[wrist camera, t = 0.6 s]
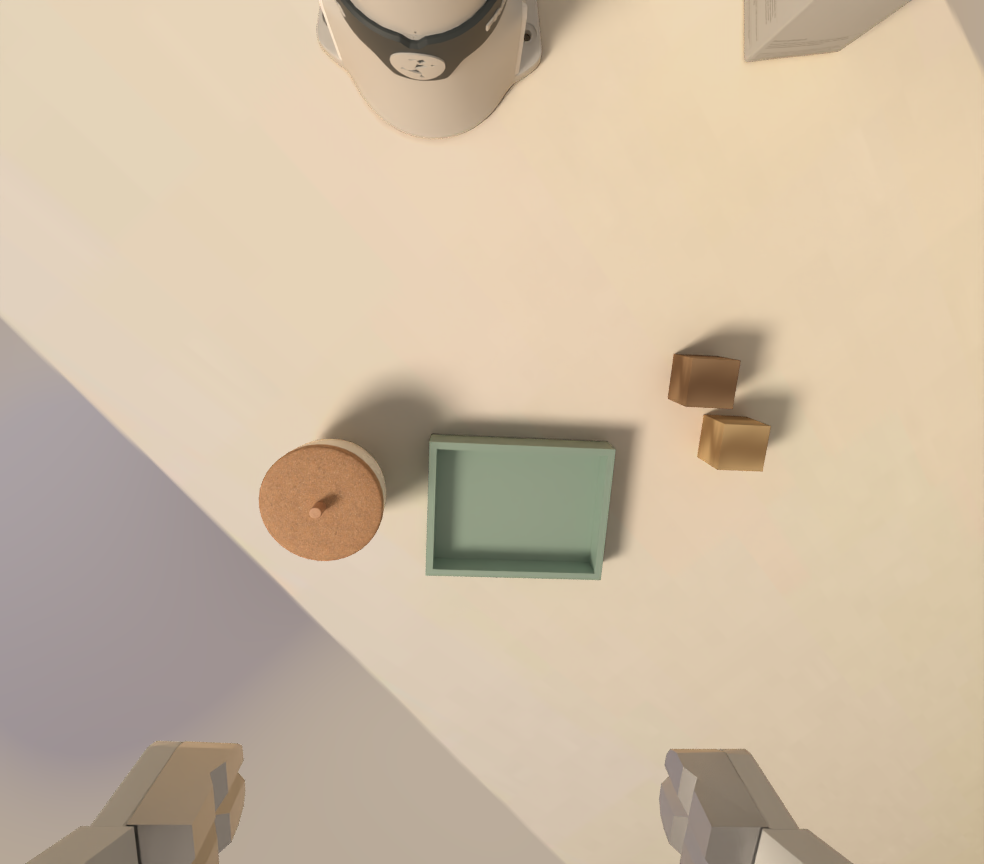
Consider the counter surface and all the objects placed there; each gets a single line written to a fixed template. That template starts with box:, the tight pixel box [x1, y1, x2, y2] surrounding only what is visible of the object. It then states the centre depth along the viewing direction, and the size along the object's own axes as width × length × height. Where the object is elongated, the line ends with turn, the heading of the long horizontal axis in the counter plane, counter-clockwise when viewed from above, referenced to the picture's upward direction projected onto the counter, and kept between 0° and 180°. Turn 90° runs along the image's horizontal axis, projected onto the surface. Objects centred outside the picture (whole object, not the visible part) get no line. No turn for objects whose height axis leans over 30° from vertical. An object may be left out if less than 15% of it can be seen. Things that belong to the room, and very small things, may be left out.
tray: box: [426, 434, 616, 580], centre depth 52 cm, size 14×18×3 cm
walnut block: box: [668, 354, 740, 409], centre depth 50 cm, size 4×4×4 cm
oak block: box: [697, 415, 771, 471], centre depth 51 cm, size 4×4×4 cm
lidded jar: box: [259, 439, 386, 561], centre depth 48 cm, size 11×11×9 cm
